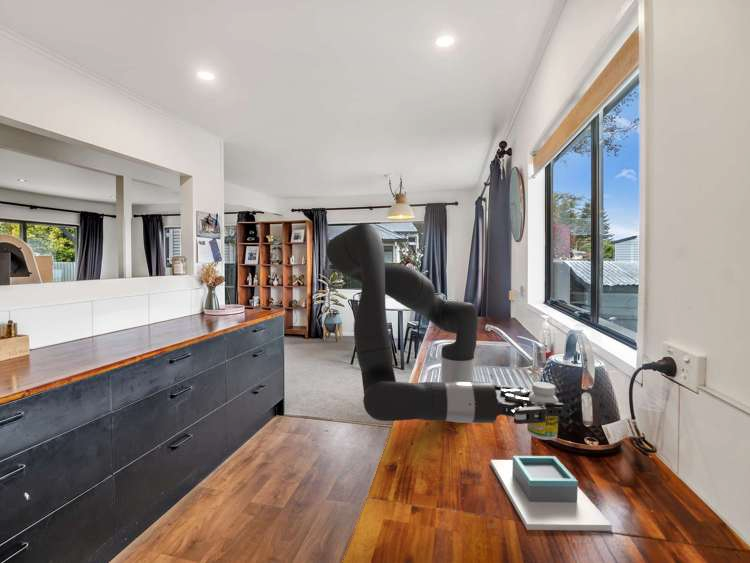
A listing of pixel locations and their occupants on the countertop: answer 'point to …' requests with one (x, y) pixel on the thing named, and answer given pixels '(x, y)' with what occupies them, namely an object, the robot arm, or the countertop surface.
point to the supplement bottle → (550, 427)
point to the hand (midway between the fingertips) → (556, 403)
